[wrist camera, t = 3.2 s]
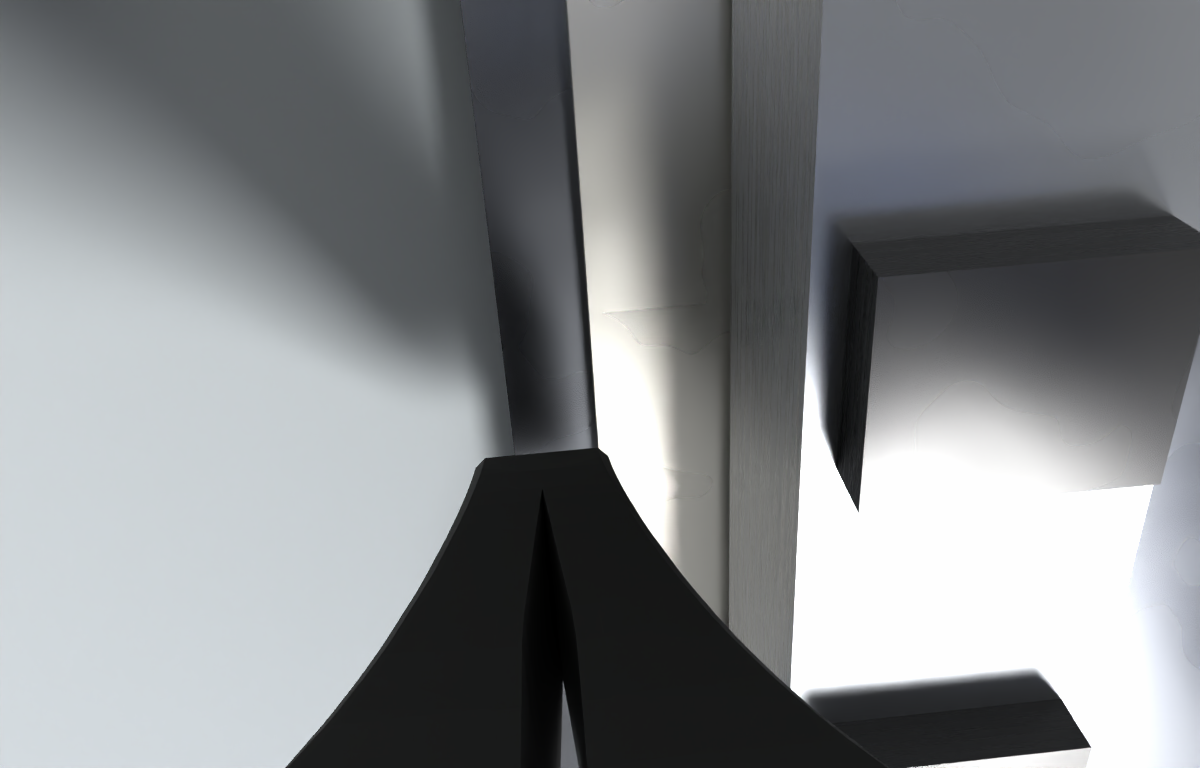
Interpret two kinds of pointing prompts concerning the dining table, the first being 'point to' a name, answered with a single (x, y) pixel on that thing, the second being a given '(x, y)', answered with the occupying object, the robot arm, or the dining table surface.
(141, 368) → the dining table surface
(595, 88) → the psu panel
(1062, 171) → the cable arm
